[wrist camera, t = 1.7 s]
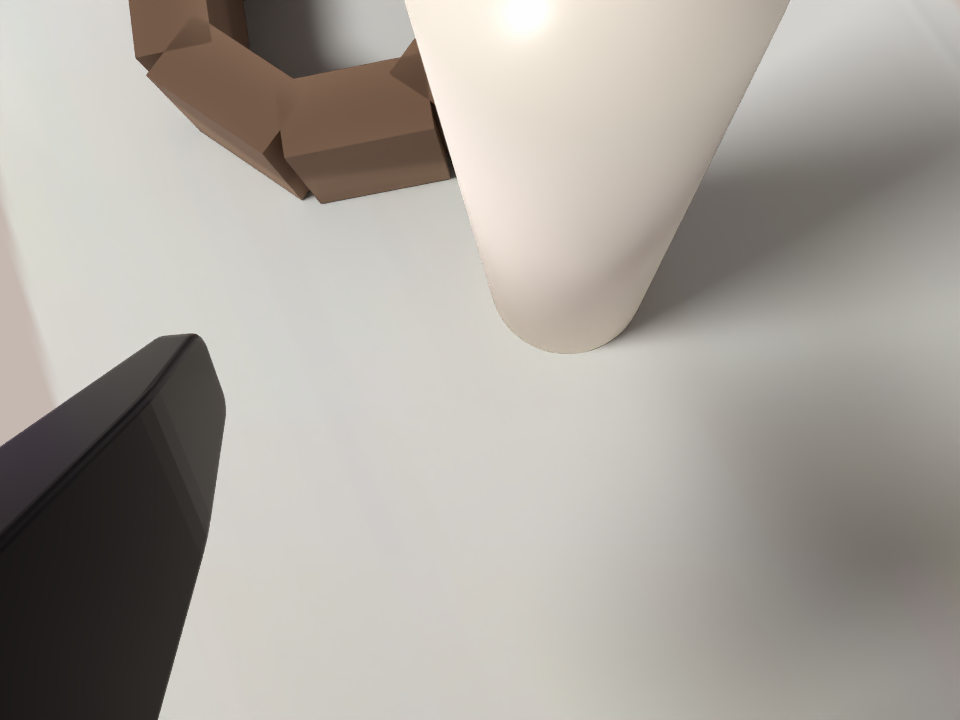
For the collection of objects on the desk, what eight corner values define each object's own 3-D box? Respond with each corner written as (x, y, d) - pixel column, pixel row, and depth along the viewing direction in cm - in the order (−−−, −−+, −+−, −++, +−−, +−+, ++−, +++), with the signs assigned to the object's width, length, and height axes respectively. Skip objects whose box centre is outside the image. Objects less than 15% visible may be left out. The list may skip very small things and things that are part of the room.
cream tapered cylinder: (587, 384, 20) (653, 203, 7) (460, 298, 21) (317, -9, 8) (675, 257, 21) (884, -127, 8) (547, 175, 21) (544, -313, 8)
